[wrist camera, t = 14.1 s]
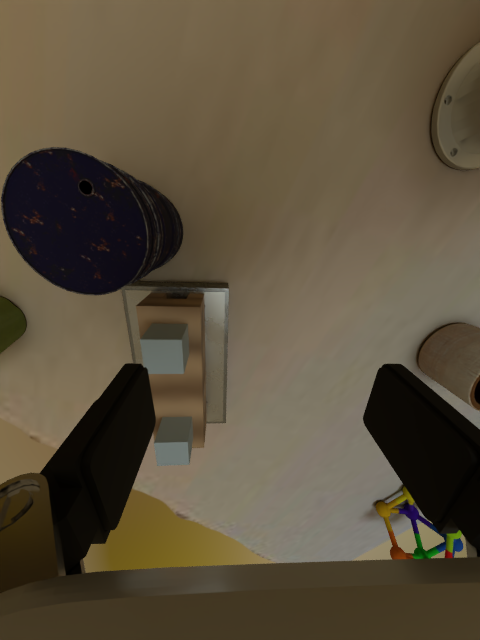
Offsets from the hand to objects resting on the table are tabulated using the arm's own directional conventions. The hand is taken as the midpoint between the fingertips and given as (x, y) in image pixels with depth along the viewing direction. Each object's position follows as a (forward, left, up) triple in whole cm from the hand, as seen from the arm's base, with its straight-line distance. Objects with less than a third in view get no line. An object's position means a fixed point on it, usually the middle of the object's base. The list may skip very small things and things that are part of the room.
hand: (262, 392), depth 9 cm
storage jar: (+12, -6, -26) cm, 29 cm away
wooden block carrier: (+8, +13, -22) cm, 27 cm away
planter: (-38, +12, -26) cm, 48 cm away
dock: (+8, +13, -26) cm, 30 cm away
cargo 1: (+8, +6, -17) cm, 19 cm away
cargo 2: (+8, +20, -17) cm, 27 cm away
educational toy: (-44, +55, -26) cm, 75 cm away
